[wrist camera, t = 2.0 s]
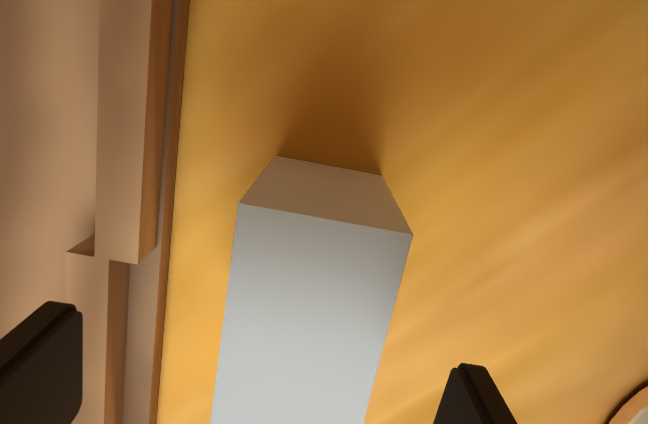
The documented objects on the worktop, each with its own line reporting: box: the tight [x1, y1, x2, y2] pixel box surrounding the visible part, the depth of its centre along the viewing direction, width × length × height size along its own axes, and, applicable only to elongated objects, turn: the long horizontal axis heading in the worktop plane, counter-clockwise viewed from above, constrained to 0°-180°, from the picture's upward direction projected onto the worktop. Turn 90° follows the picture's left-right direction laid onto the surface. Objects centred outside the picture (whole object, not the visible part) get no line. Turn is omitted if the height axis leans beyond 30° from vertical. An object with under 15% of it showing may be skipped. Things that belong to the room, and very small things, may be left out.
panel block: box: [210, 156, 413, 424], centre depth 17 cm, size 5×8×8 cm, turn 169°
